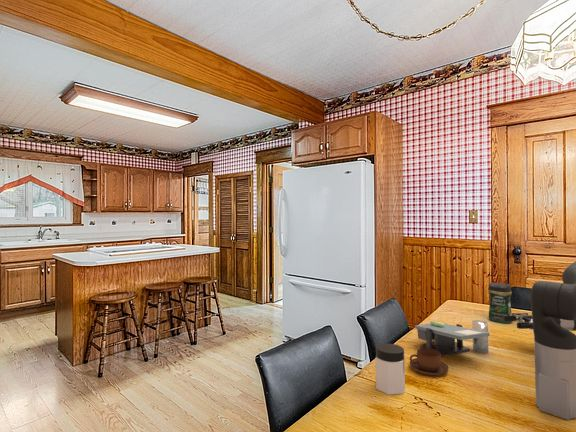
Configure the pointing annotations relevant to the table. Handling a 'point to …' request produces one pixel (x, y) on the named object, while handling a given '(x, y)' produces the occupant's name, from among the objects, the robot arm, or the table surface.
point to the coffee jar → (499, 301)
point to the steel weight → (481, 343)
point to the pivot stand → (444, 343)
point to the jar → (390, 369)
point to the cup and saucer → (428, 362)
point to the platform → (449, 331)
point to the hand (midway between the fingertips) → (510, 321)
